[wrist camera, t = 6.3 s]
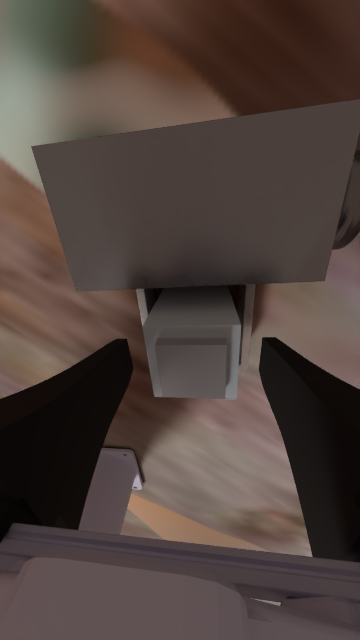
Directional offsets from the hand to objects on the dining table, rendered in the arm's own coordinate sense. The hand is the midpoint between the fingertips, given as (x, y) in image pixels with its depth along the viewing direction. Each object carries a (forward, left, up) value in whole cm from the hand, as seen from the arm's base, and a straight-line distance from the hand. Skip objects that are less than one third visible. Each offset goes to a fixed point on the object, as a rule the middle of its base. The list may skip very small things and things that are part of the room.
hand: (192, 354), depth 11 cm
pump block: (0, 0, -5) cm, 5 cm away
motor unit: (+2, +3, -5) cm, 6 cm away
